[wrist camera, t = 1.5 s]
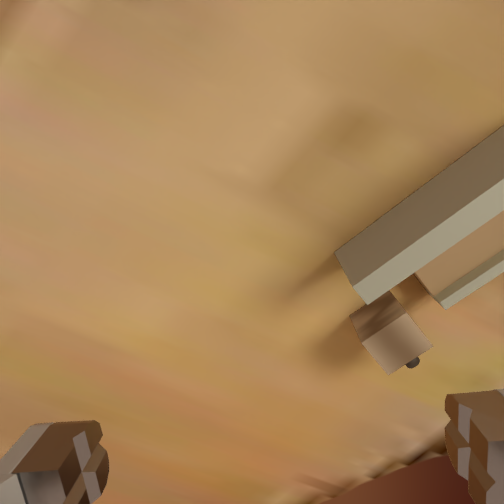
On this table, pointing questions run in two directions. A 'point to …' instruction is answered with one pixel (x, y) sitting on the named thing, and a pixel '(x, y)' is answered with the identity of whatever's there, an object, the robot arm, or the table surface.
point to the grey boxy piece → (437, 232)
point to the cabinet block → (389, 333)
